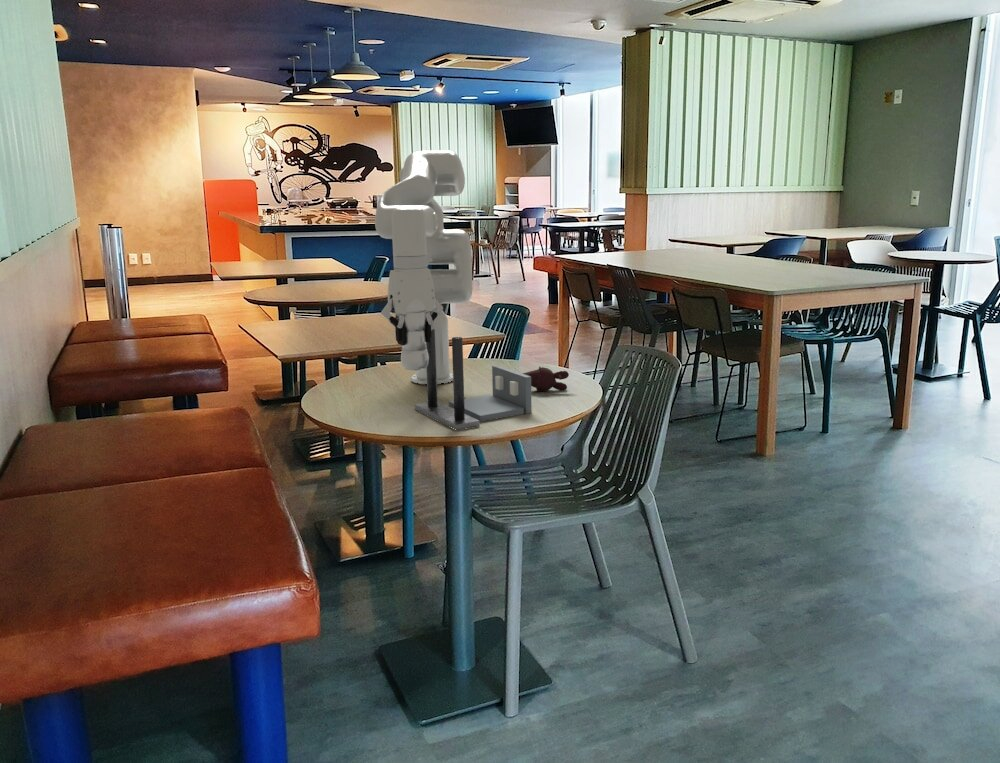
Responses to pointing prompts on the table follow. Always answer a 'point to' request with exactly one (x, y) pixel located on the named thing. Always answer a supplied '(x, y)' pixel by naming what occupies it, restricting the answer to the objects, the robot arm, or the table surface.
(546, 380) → the dark brown rounded figure
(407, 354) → the silver bottle
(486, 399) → the switch board
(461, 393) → the cord gate
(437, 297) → the robot arm
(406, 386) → the table surface
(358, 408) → the table surface
